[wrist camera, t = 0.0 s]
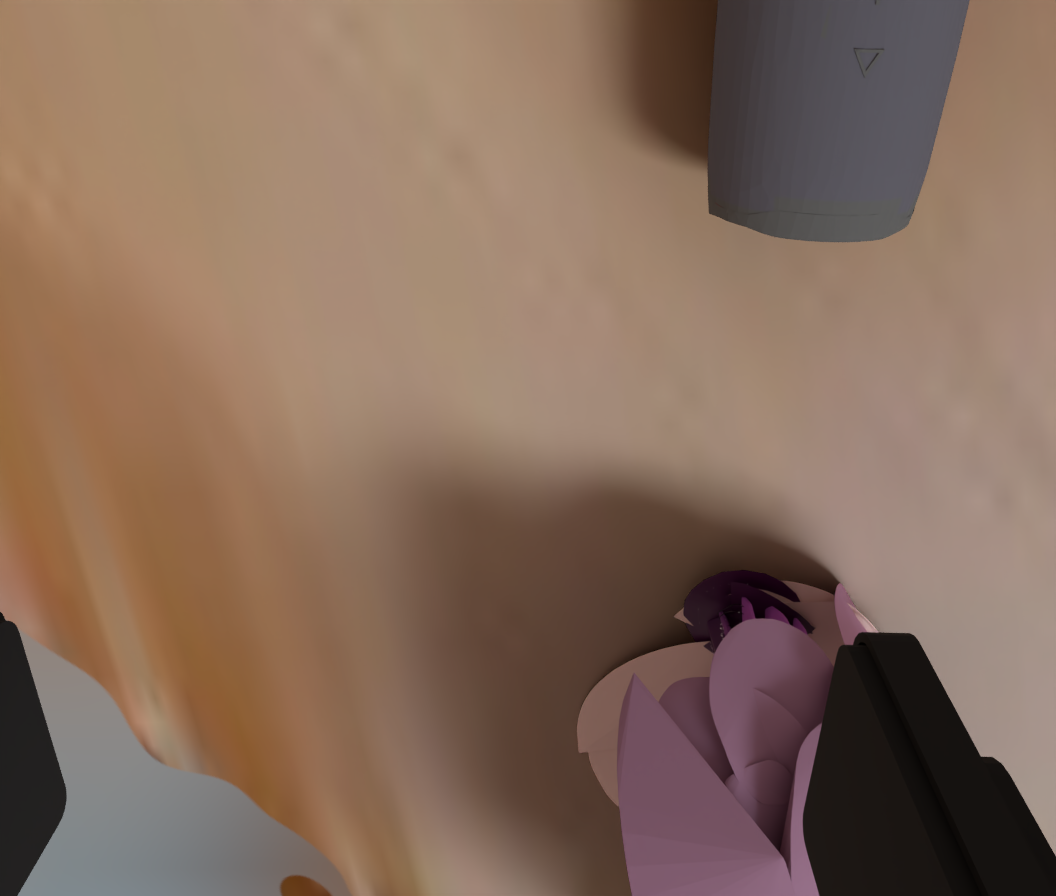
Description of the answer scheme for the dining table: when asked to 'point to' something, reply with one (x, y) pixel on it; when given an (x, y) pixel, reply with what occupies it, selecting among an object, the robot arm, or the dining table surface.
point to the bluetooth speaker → (827, 112)
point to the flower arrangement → (721, 738)
